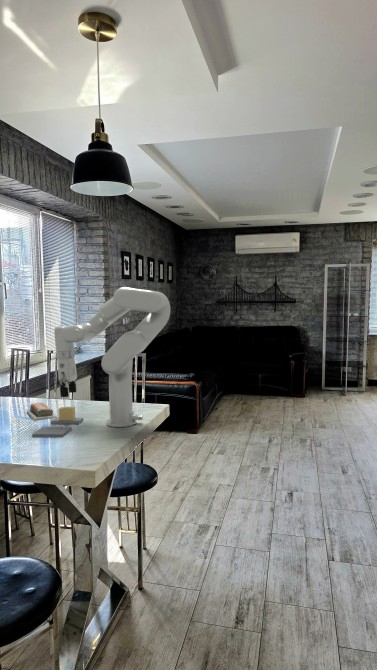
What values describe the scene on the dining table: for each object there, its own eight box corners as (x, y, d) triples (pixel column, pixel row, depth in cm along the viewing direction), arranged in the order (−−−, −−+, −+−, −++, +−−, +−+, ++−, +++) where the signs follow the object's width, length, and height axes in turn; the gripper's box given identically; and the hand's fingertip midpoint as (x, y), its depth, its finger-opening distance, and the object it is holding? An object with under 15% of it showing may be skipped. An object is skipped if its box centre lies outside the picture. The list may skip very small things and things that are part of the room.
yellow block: (83, 420, 192) (82, 406, 191) (78, 423, 186) (78, 409, 185) (56, 420, 193) (56, 406, 192) (51, 423, 187) (50, 409, 186)
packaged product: (25, 403, 208) (47, 401, 213) (26, 413, 208) (47, 410, 213) (33, 411, 193) (56, 408, 198) (34, 421, 193) (57, 418, 198)
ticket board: (71, 429, 177) (71, 426, 177) (62, 437, 167) (62, 433, 167) (42, 429, 178) (42, 426, 178) (32, 437, 168) (32, 433, 168)
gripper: (66, 356, 178) (70, 398, 179) (80, 352, 196) (83, 390, 197) (48, 357, 179) (52, 399, 180) (64, 353, 196) (67, 391, 197)
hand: (68, 394), depth 188 cm, fingers open, 9 cm apart
